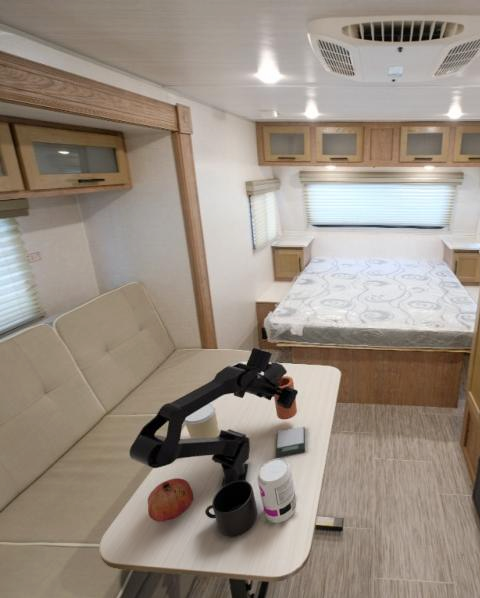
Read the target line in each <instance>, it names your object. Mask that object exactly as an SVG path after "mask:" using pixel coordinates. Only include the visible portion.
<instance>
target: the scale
mask: <svg viewBox="0 0 480 598" xmlns="http://www.w3.org/2000/svg"><path fill="white" fill-rule="evenodd" d="M276 434H277V435H276V445H275V458H281V457H286V456H292V455H297V454H301V453H305V452H306V429H305V426H299V427H294V428H288V429H283V430H278V431H277V433H276Z"/></svg>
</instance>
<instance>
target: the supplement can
mask: <svg viewBox="0 0 480 598" xmlns="http://www.w3.org/2000/svg"><path fill="white" fill-rule="evenodd" d="M257 484H258V489H259V493H260V497H261V503H262V507H263V513H264V515H265V519H266V520H267V521H269V522H270V523H274V524H278V523H282V522H285V521H287V520H288V519H290V518H291V517H292V516H293V515H294V513H295V512H296V509H297V496H296V491H295V484H294V478H293V472H292V467H291V465H290V464H289V463H288V462H287V461H286V460H285V459H283V458H273V459H270V460H268V461H266V462H265V463H264V464H263V465H262V466H261V468H260V469H259V473H258V474H257Z"/></svg>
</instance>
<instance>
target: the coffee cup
mask: <svg viewBox="0 0 480 598" xmlns="http://www.w3.org/2000/svg"><path fill="white" fill-rule="evenodd" d="M183 423H184V424H185V427H186V429H187V432H188V435H189V437H190V439H191V438H214V437H218V436H219V435H220V432H219V431H220V430H219V424H218V418H217V412H216V407H215V406H214V405H213V404H212V403H209V404H207V405H206V406H204V407H202V408H201V409H199V410H197V411H196V412H194V413H193V414H191V415H189V416H188V417H186V419H185V420H184V422H183Z"/></svg>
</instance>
